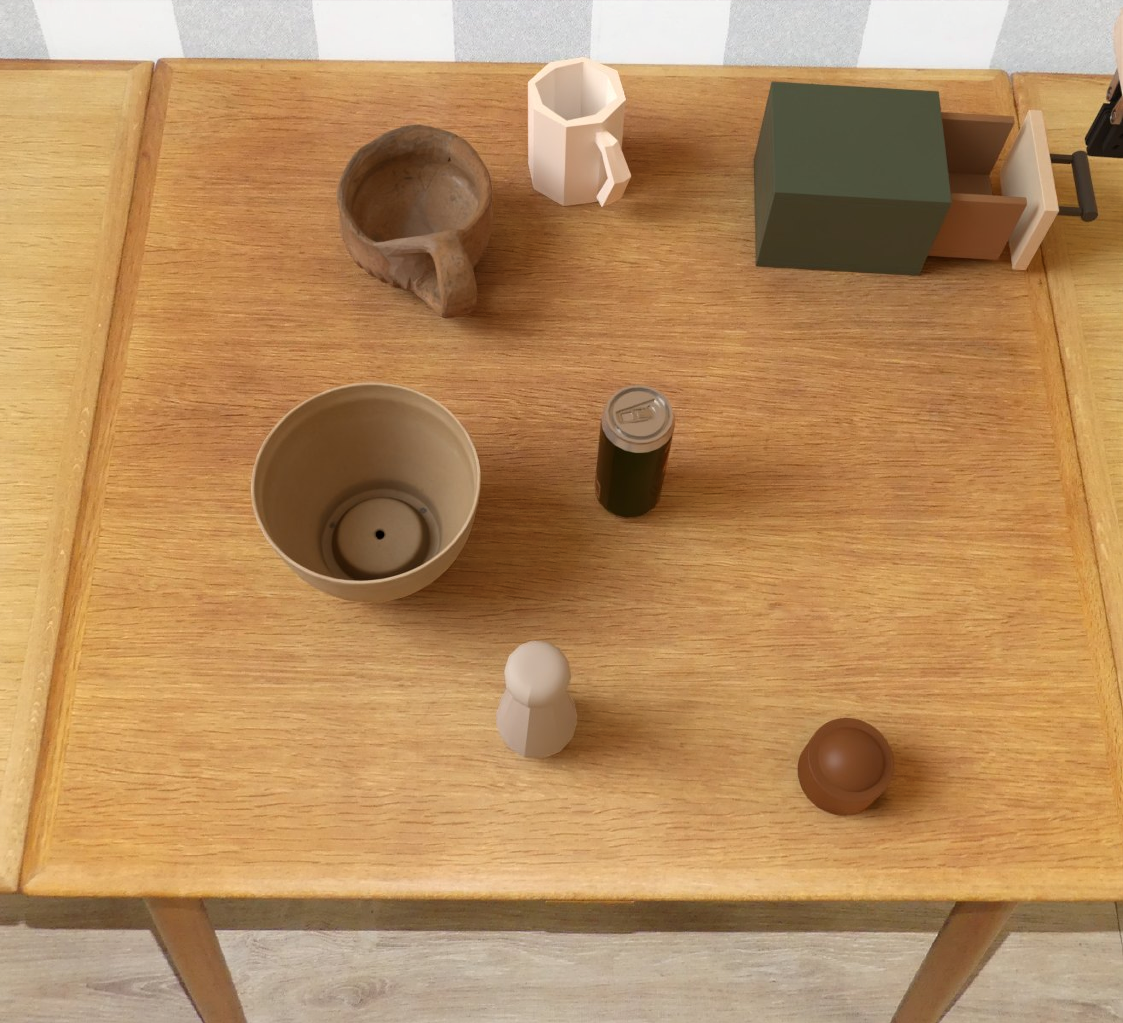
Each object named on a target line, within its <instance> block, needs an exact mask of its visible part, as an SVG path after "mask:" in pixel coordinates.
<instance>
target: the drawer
mask: <svg viewBox="0 0 1123 1023" xmlns="http://www.w3.org/2000/svg"><path fill="white" fill-rule="evenodd" d="M941 115H942V123H943V132H944V141H945V149H946V158H947V167H948V175H949V184H950V192H951V201H952V203H951V205H950V207H949V209H948V211H947V214H946V216H945V218H944V220H943V223H942V225H941V227H940V229H939V232H938V234H937V236H936V238H935V241H934V243H933V245H932V247H931V250H930V252H929V254H928V256H927V257H942V258H958V259H975V260H992V261H998V260H999V259H1000V256H1001V254H1002V253H1003V251H1004V249H1005V247H1006V245H1007V243H1008V247H1009V253H1010V260H1011V268H1012V270H1016V271H1017V270H1018V271H1019V270H1020V271H1026V270H1027V268H1028V267H1029V265H1030V263H1031V261H1032V260H1033V257H1035V255H1036V252H1037V251H1038V249H1039V248H1040V246H1041V244H1042V242H1043V240H1044V239H1045V237H1046V235H1047V234H1048V231H1049V230H1050V228H1051V226H1052V225H1053V224H1054V223H1053V222H1054V221H1055V219H1056V218H1057V216H1058V217H1059V216H1060V217H1073V218H1074V217H1075V218H1080V220H1081V221H1082V222H1084V223H1090V222H1091V223H1092V222H1093V221H1096V220H1097V219H1098V217H1099V210H1098V205H1097V199H1096V194H1095V189H1094V183H1093V178H1092V173H1091V168H1090V162H1089V156H1088V155H1087V151H1086V150H1076V151H1074V152H1072V153H1071V154H1063V153H1050V149H1049V143H1048V136H1047V130H1046V129H1047V128H1046V124H1045V118H1044V113H1043V110H1041V109H1028V111H1027V113H1026V115H1025V117H1024V120H1023V121H1022V124H1021V126H1020V128H1019V129H1018V132H1017V134H1016V136H1015V138H1014V139H1013V142H1012V144H1011V147H1010V148H1009V151H1008V153H1007V155H1006V157H1005V159H1004V161H1003V163H1002V165H1001V167H1000V169H999V171H998V174H999V176H998V177H999V183H1000V189H1001V195H994V194H993V188H992V181H991V174H992V172H993V169H994V167H995V166H996V163H997V161H998V159H999V157H1000V154H1001V153H1002V151H1003V149H1004V146H1005V144H1006V142H1007V140H1008V138H1009V136H1010V135H1011V132H1012V129H1013V127H1014V125H1015V122H1016V121H1015V117H1014V116H1013V115H998V114H997V115H996V114H981V113H980V114H978V113H964V112H963V113H962V112H943V111H941ZM1052 164H1059V165H1071V170H1072V177H1073V182H1074V188H1075V193H1076V199H1077V204H1078V206H1064V205H1059V202H1058V196H1057V190H1056V183H1055V177H1054V171H1053V165H1052Z"/></svg>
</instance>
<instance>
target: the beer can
mask: <svg viewBox="0 0 1123 1023" xmlns="http://www.w3.org/2000/svg"><path fill="white" fill-rule="evenodd" d="M675 427H676V421H675V414H674V410H673V405H672V404H671V402H670V400H669V398H668V397H667V396H666V395H665V394H664V393H663V392H662V391H660V390H658V389H657V388H655V387H652V386H649V385H645V384H631V385H630V384H629V385H627V386H624V387H621V388H619V389H618V390H616V392H614V393H612V395H611V396H610V397H609V399H608V401H607V402H606V404H605V406H604V407H603V409H602V413H601V417H600V426H599V437H598V446H597V457H596V467H595V477H594V492H595V493H594V494H595V497H596V498H597V501H598V503H599V505H601V507H603V508H604V509H605V510H606V511H607V513H610V514H611V515H613V516H615V517H618V518H622V519H636V518H638V517H641V516H644V515H647V514H649V512H651V511H652V510H653V509H655V508H656V506H657V505H658V503H659V501H660V499H661V495H662V491H663V486H664V481H665V476H666V472H667V468H668V462H669V456H670V451H671V448H672V442H673V437H674V432H675Z"/></svg>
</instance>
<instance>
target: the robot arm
mask: <svg viewBox="0 0 1123 1023" xmlns="http://www.w3.org/2000/svg"><path fill="white" fill-rule="evenodd" d="M1112 41H1113V43H1112V44H1113V50H1114V56H1115V62H1116V69H1115V72H1114V74H1113V76H1112V78H1111V80H1110V83H1109V86H1108V87H1107V90H1106V93H1105V101H1106V102H1103V103H1102V105H1101V106H1100V109H1099V110H1098V113H1097V114H1096V116H1095V118H1094V120H1093V122H1092V123H1091V125H1090V127H1089V129H1088V131H1087V133H1086V135H1085V137H1084V144H1085V146H1086V147H1085V149H1086V150H1085V152H1086V153H1087V156H1088V157H1093V158H1094V157H1095V158H1111V159H1123V6H1121V9H1120V11H1119V13H1118V15H1117V18H1116V20H1115V24H1114V27H1113V32H1112Z"/></svg>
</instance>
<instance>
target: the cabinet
mask: <svg viewBox="0 0 1123 1023" xmlns="http://www.w3.org/2000/svg"><path fill="white" fill-rule="evenodd" d="M941 107H942V106H941V99H940V91H938V90H925V89H908V88H907V89H905V88H890V87H872V86H871V87H870V86H857V85H856V86H855V85H841V84H840V85H837V84H821V83H804V82H803V83H802V82H788V81H787V82H785V81H771V82H770V87H769V90H768V95H767V99H766V104H765V108H764V113H763V118H762V122H761V126H760V130H759V134H758V135H759V136H758V138H757V144H756V149H755V152H754V157H753V187H754V188H753V191H754V192H753V193H754V195H753V196H754V199H753V200H754V244H755V249H754V250H755V267H763V268H764V267H766V268H780V269H781V268H783V269H796V270H797V269H799V270H815V271H830V272H831V271H834V272H846V273H847V272H848V273H849V272H850V273H864V274H865V273H867V274H880V275H881V274H883V275H900V276H915V277H916V276H917V277H920V274H921V272H922V269H923V267H924V265H925V263H926V261H927V258H928V257H929V256H928V254H929V252H930V250H931V247H932V245H933V243H934V241H935V238H936V236H937V234H938V232H939V229H940V227H941V225H942V223H943V220H944V218H945V216H946V214H947V211H948V209H949V207H950V205H951V203H952V201H951V192H950V184H949V175H948V167H947V158H946V149H945V141H944V132H943V123H942V115H941V112H942V108H941Z"/></svg>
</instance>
